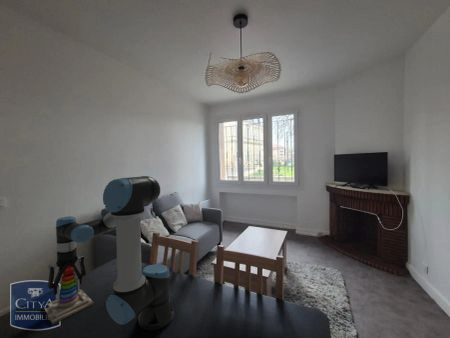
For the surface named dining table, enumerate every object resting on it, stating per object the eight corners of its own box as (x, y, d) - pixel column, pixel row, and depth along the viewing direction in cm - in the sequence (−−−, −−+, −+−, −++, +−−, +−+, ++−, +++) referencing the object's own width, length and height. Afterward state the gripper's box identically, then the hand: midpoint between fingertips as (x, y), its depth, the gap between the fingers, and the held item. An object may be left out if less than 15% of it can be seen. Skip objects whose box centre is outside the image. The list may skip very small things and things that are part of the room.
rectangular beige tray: (93, 304, 102) (93, 299, 102) (52, 324, 90) (52, 319, 90) (81, 291, 112) (81, 287, 112) (42, 308, 99) (42, 303, 99)
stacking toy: (67, 309, 96) (66, 270, 95) (53, 307, 98) (52, 268, 97) (82, 298, 104) (81, 261, 103) (69, 296, 106) (68, 260, 105)
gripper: (87, 240, 110) (88, 282, 111) (37, 254, 94) (38, 303, 95) (93, 244, 105) (94, 288, 106) (41, 259, 89) (43, 310, 90)
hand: (68, 295), depth 101 cm, fingers closed on stacking toy, 7 cm apart
